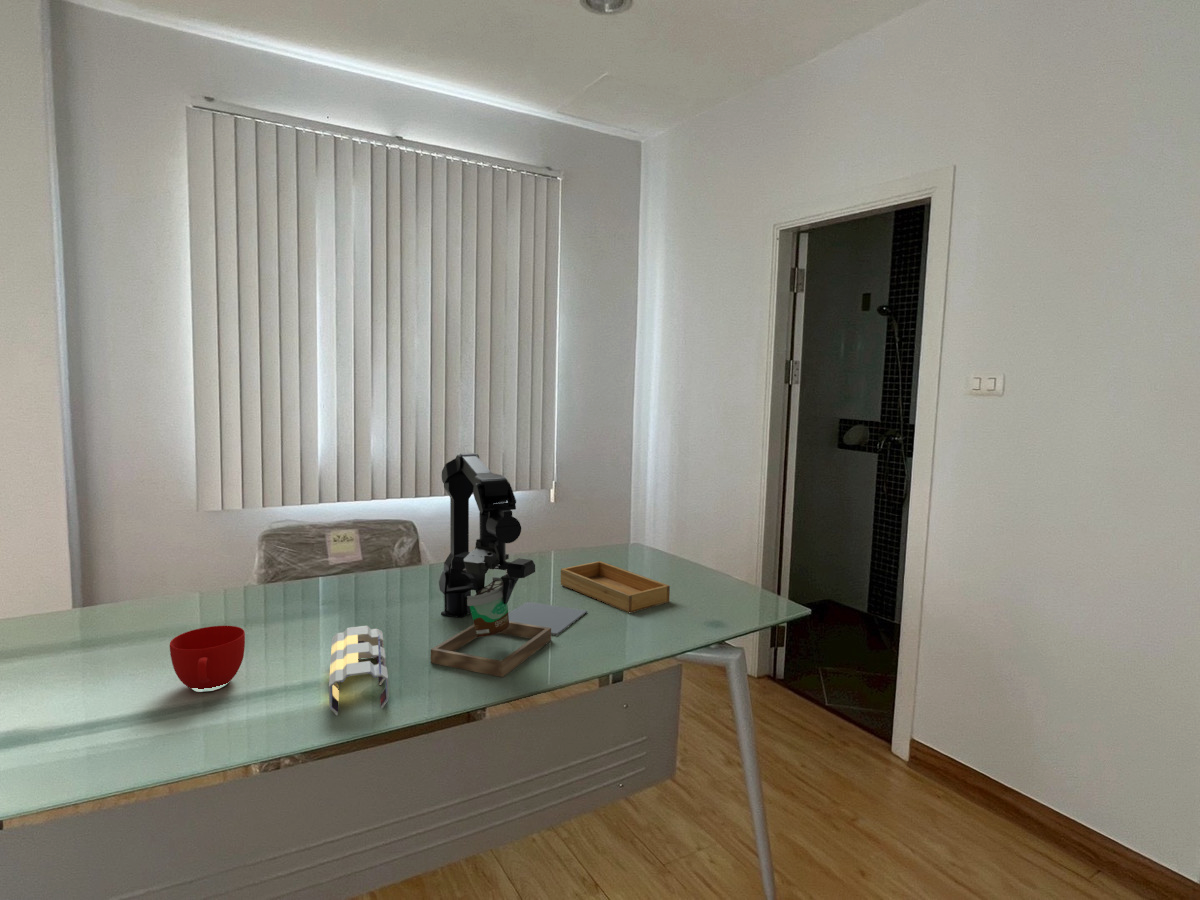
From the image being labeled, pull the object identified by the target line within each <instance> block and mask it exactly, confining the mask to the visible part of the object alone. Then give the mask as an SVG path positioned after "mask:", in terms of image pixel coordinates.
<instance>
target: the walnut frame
mask: <svg viewBox="0 0 1200 900" xmlns="http://www.w3.org/2000/svg"><path fill="white" fill-rule="evenodd" d="M499 634H500V635H501V634H502V635H508V636H514V637H519V638H525V637H527V638H526V639H529V640H528V641H526V642H525V643H524V644H522V645H521V646H519V647H518V648H517V649H515V650H514V651H513V652H511V653H509V654H508V655H507V656H506V657H504V658H503V659H501V660H499V659H493V658H490V657H489V658H488V657H483V656H478V655H473V654H468V653H462V652H457V651H458V650H459V649H460V648H462V647H464V646H465V645H468V644H469V643H470V642H472V641H474V640H475V639H477V638H478V637H477V634H476V630H475V626H474V623H473V624H472V625H470V626H467V628H465V629H463V630H462V631H460V632H458V633H456V634H455V635H453V636H451V637H449V638H448V639H446V640H444V641H443V642H441V643H439V644H437V645H436V646H434V647H432V648H431V649H430V663H431V664H435V665H440V666H444V667H445V666H446V667H450V668H455V669H460V670H465V671H470V672H475V673H480V674H485V675H490V676H494V677H500V678H504V677H505V676H506V675H508V674H509V673H510V672H512V671H513V670H514V669H516V668H517V667H518V666H520V665H521V664H522V663H524V662H525V661H526V660H528V659H529V658H530V657H531V656H533V655H534V654H535V653H536V651H537V652H538V651H540V649H542V648H543V647H544V646H546V645H547V644H548V643H550V642H551V641H552V635H551V628H548V627H542V626H536V625H530V624H524V623H518V622H512V621H509V626H508V628H507V629H505V630H504V631H502V632H500V633H499ZM530 638H532V639H530ZM550 640H551V641H550ZM549 641H550V642H549ZM546 643H547V644H546ZM545 644H546V645H545ZM541 647H542V648H541ZM532 654H533V655H532ZM529 656H530V657H529ZM528 657H529V658H528ZM524 660H525V661H524Z"/></svg>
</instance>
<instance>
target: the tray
mask: <svg viewBox="0 0 1200 900" xmlns="http://www.w3.org/2000/svg"><path fill="white" fill-rule="evenodd" d="M560 585H561V586H562V587H565V588H567V589H570V590H572V589H573V591H575V592H578V593H580V594H582V595H584V596H587V597H589V598H591V597H592V599H594V600H596V599H597V601H599V602H601V601H602V602H601V603H603V602H604V603H603V604H605V603H606V605H608V604H609V605H608V606H610V605H611V607H613V608H615V607H616V608H615V609H617V608H618V610H619V609H621V610H620V611H622V610H623V612H624V611H626V612H625V613H627V612H628V613H627V614H630V613H629V612H633V613H635V612H634V611H636V612H638V611H637V610H640V611H642V610H641V609H643V610H646V609H645V608H647V609H650V608H654V607H656V605H657V606H660V605H664V603H665V604H668V603H670V596H671V595H670V588H671V587H670V585H669V584H666V583H665V582H661V581H658V580H655V579H652V578H649V577H646V576H643V575H640V574H637V573H635V572H632V571H629V570H627V569H624V568H621V567H617V566H615V565H612V564H609V563H606V562H603V561H601V560H598V561H593V562H588V563H583V564H578V565H574V566H573V565H572V566H569V567H564V568H563V567H562V568H561V569H560ZM653 606H654V607H653ZM649 607H650V608H649Z"/></svg>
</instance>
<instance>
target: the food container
mask: <svg viewBox="0 0 1200 900" xmlns="http://www.w3.org/2000/svg"><path fill="white" fill-rule="evenodd" d="M467 598H468V599H467V606H470V610H471V613H470V614H471V617H472V622H473V624H474V626H475V630H476V634H477V638H485V637H491V636H494V635H497V634H501V633H500V632H502V631H504V630H505V629H507V628H508V626H509V616H508V613H509V608H508V603H507V604H504V602H503V581H502V579H501V577H496V576H493V577H492V581H491V582H490V583H489V584H487V585H486V586H484V587H483V588H481V589H480V590H479V591H478V592H477V594H476V593H475V594H474V595H471V596H467Z"/></svg>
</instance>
